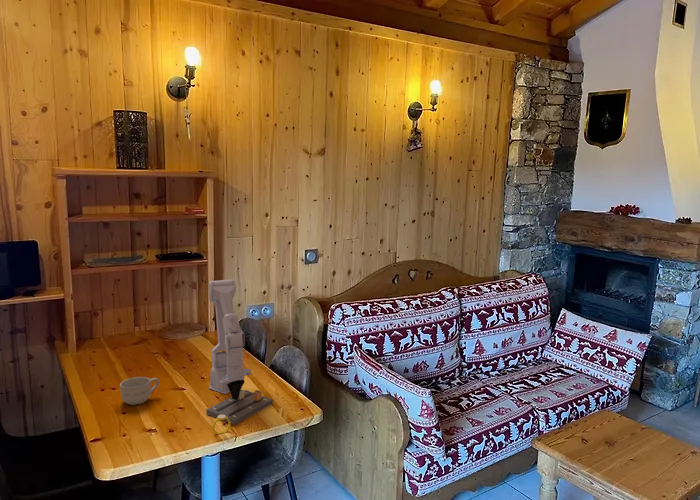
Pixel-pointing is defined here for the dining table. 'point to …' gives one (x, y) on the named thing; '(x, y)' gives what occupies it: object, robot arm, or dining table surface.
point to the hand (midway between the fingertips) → (235, 398)
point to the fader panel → (239, 407)
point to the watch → (221, 417)
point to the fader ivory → (241, 394)
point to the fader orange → (257, 395)
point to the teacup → (137, 389)
